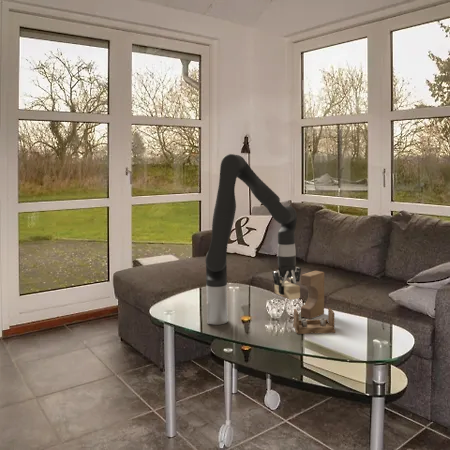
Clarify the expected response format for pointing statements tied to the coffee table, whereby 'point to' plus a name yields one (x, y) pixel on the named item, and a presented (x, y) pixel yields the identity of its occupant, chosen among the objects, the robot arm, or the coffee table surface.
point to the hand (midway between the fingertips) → (287, 293)
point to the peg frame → (314, 324)
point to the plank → (289, 290)
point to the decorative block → (313, 294)
